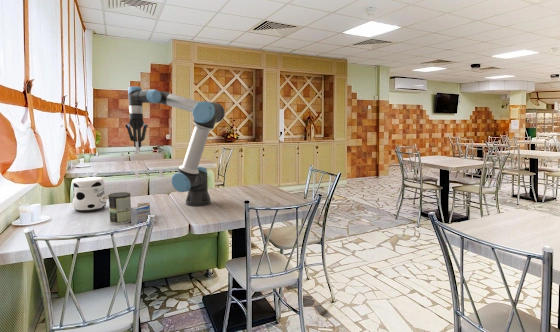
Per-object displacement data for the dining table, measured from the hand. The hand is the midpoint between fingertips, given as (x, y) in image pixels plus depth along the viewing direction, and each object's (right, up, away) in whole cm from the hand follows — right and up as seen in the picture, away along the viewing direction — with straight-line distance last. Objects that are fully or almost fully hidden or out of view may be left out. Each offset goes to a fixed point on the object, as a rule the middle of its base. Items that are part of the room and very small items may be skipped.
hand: (138, 152), depth 209 cm
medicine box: (+16, -37, -36) cm, 55 cm away
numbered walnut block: (+13, -36, -23) cm, 45 cm away
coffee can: (+4, -37, -32) cm, 49 cm away
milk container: (-25, -34, -8) cm, 43 cm away
